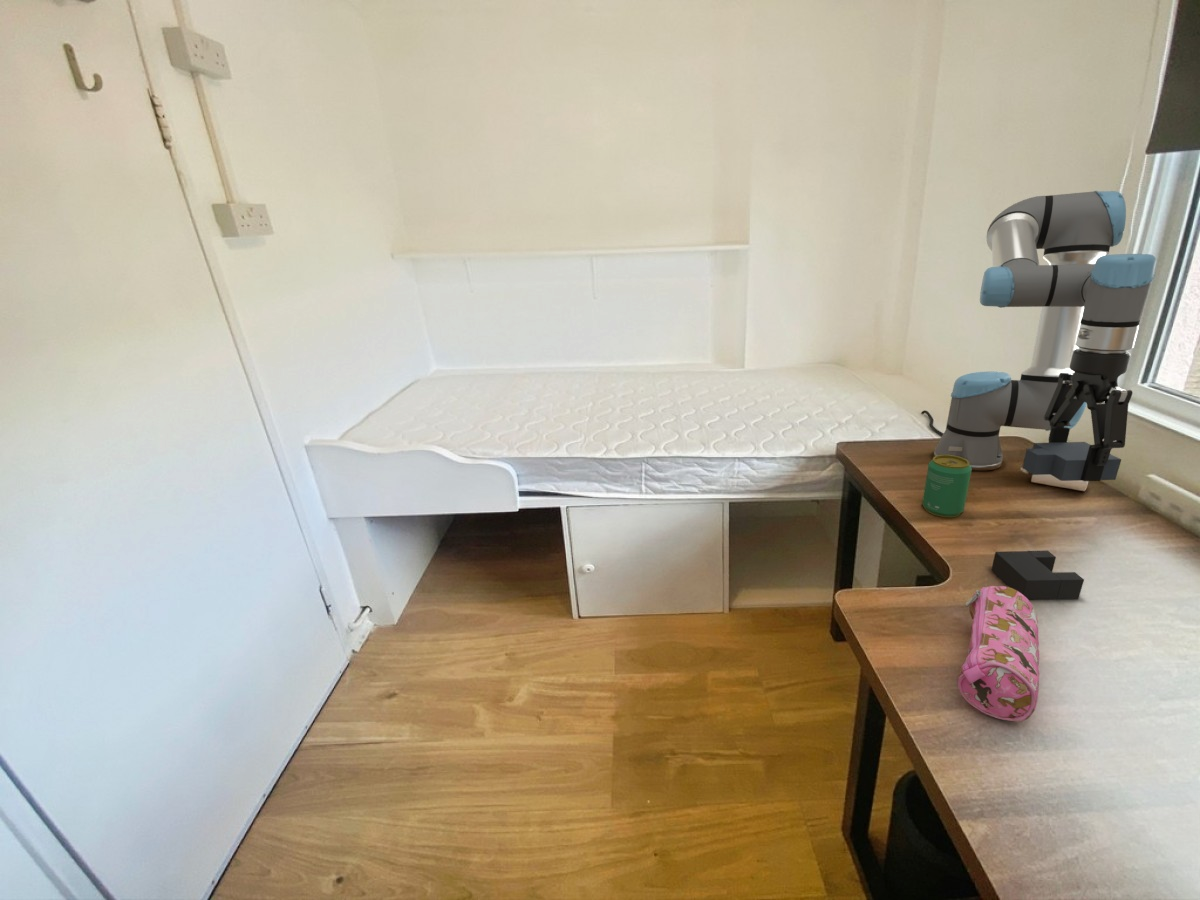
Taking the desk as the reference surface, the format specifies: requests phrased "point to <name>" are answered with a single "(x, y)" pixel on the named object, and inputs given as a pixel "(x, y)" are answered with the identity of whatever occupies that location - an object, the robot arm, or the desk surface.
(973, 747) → the desk surface
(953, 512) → the beverage can
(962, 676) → the pencil case
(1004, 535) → the desk surface
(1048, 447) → the grey block
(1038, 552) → the black u-shaped block
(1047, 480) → the white cylinder on side
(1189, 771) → the desk surface
